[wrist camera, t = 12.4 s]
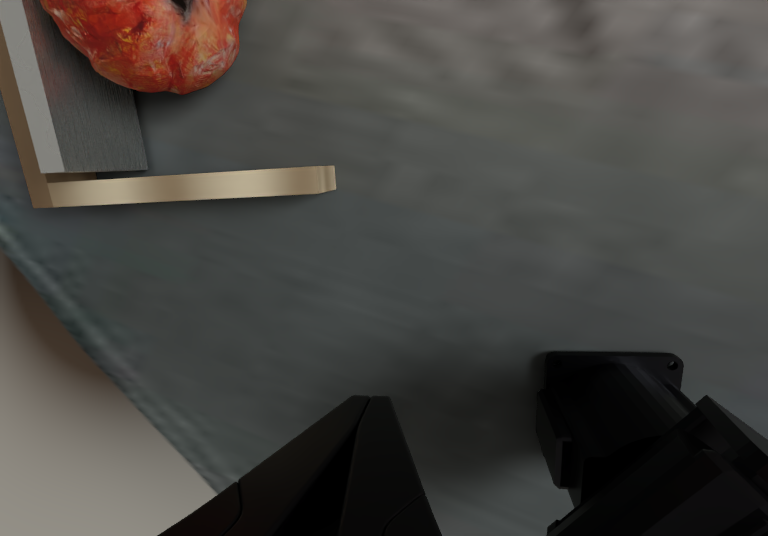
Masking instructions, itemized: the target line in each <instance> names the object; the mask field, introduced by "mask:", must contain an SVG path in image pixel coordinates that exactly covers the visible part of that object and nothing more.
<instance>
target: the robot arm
mask: <svg viewBox="0 0 768 536" xmlns="http://www.w3.org/2000/svg"><path fill="white" fill-rule="evenodd" d="M557 359H558V360H560V362H559V363H558V364H556V365H554V364H552V362H553V361H554V360H557ZM672 361H674V363H673V365H671V366H669V367H667V365H668V363H669V362H672ZM683 367H684V365H683V362H682V360H681V359H680V358H679V357H678V356H676V355H674V354H671V353H615V352H551V353H550V354H548V355H547V356H546V359H545V376H544V389H541V390H540V391H539V392H538V393H537V415H536V433H537V436H538V439H539V442H540V445H541V449H542V453H543V456H544V457H545V459H546V462H547V465H548V468H549V471H550V474H551V477H552V480H553V483H554V484H555V485H556V486H557V487H558V488H559V489H568V492H569V495H570V497H571V500H572V503H573V505H574V509H573V510H572V511H571V512H570V513H568V514H567V515H566V516H565V517H564V518H562V519H561V520H560V521H559V520H556V521H554V522H553V523H552V524H551V525H550V526H548V528H547V535H546V536H768V440H767V439H766V438H764V437H763V436H762V435H760V434H759V433H757V432H756V431H755V430H753V429H752V428H751V427H749V426H748V425H747V424H745V423H744V422H743V421H741V420H740V419H739V418H737V417H736V416H735V415H733V414H732V413H730V412H729V411H728V410H726V409H725V408H724V407H722V406H721V405H720V404H718V403H717V402H716V401H714V400H713V399H712V398H710V397H709V396H707V395H706V396H704V397H703V398H702V399H701V400H700V401H698V402H697V403H696V404H694V403H692V402H691V401H690V400H689V399H688V398H687V397H686V396H685V395H684V394H683V393H682V392H681V391H680V388H681V381H682V374H683ZM158 536H442V534H441V532H440V530H439V527H438V525H437V522H436V520H435V518H434V515H433V513H432V510H431V508H430V505H429V502H428V499H427V497H426V496H425V492H424V489H423V486H422V484H421V481H420V478H419V475H418V473H417V470H416V467H415V464H414V462H413V459H412V456H411V454H410V451H409V448H408V445H407V443H406V440H405V437H404V434H403V432H402V429H401V426H400V423H399V421H398V418H397V415H396V413H395V410H394V407H393V404H392V402H391V399H390V397H388V396H372V397H371V398H370V397H369V396H360V395H354V396H351V397H350V398H348V399H347V400H346V401H344V402H343V403H342V404H340V405H339V406H338V407H336V408H335V409H334V410H332V411H331V412H329V413H328V414H327V415H325V416H324V417H323V418H321V419H320V420H319V421H317V422H316V423H315V424H313V425H312V426H311V427H309V428H308V429H306V430H305V431H304V432H302V433H301V434H300V435H298V436H297V437H296V438H294V439H293V440H292V441H290V442H289V443H288V444H286V445H285V446H283V447H282V448H281V449H279V450H278V451H277V452H275V453H274V454H273V455H271V456H270V457H269V458H267V459H266V460H264V461H263V462H262V463H260V464H259V465H258V466H256V467H255V468H254V469H252V470H251V471H250V472H248V473H247V474H246V475H244V476H243V477H241V478H240V479H239V480H238V483H237V482H235V483H233V484H232V485H230V486H229V487H228V488H226V489H225V490H224V491H222V492H221V493H220V494H218V495H217V496H215V497H214V498H213V499H211V500H210V501H209V502H207V503H206V504H204V505H203V506H201V507H200V508H198V509H197V510H196V511H194V512H193V513H192V514H190V515H188V516H187V517H185V518H184V519H182V520H181V521H179V522H178V523H176V524H174V525H173V526H171V527H170V528H168V529H167V530H165V531H164V532H162V533H161V534H159V535H158Z"/></svg>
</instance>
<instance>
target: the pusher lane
mask: <svg viewBox="0 0 768 536" xmlns="http://www.w3.org/2000/svg"><path fill="white" fill-rule="evenodd" d="M0 89H1V93H2V96H3V100H4V104H5V107H6V111H7V115H8V118H9V122H10V125H11V129H12V133H13V136H14V140H15V143H16V147H17V151H18V154H19V158H20V161H21V165H22V169H23V172H24V176H25V179H26V183H27V187H28V190H29V194H30V197H31V201H32V205H33V208H49V207H69V206H88V205H107V204H127V203H146V202H166V201H185V200H204V199H224V198H243V197H262V196H282V195H301V194H319V193H323V192H327V191H331V190H335V189H336V181H335V169H334V166H312V167H296V168H280V169H264V170H248V171H232V172H216V173H201V174H185V175H169V176H153V177H137V178H121V179H105V180H97V177H96V172H74V173H41V171H40V168H39V164H38V160H37V156H36V153H35V149H34V145H33V141H32V138H31V134H30V130H29V126H28V123H27V119H26V115H25V111H24V108H23V104H22V100H21V96H20V93H19V89H18V85H17V81H16V78H15V74H14V70H13V66H12V63H11V59H10V55H9V51H8V48H7V44H6V40H5V36H4V33H3V29H2V25H1V21H0Z"/></svg>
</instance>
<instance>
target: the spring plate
mask: <svg viewBox="0 0 768 536" xmlns="http://www.w3.org/2000/svg"><path fill="white" fill-rule="evenodd" d="M0 21H1V25H2V29H3V33H4V36H5V40H6V44H7V48H8V51H9V55H10V59H11V63H12V66H13V70H14V74H15V78H16V81H17V85H18V89H19V93H20V96H21V100H22V104H23V108H24V111H25V115H26V119H27V123H28V126H29V130H30V134H31V138H32V141H33V145H34V149H35V153H36V156H37V160H38V164H39V168H40V171H41V173H74V172H111V171H137V170H148V165H147V160H146V155H145V150H144V145H143V140H142V135H141V130H140V125H139V120H138V115H137V110H136V105H135V100H134V95H133V90H132V89H131V88H127V87H124V86H122V85H119V84H116V83H115V82H113V81H111V80H109V79H107V78H105V77H103V76H102V75H100V74H99V73H98V72H96V71H95V70H94V68H93V67H92V66H91V62H90V59H89V58H88V57H87V56H85V55H84V54H83V53H81V52H80V51H79V50H78V49H77V48H76V47H74V46H73V45H72V44H71V43H70V42H69V41H68V40H67V39H66V38H64V36H63V35H62V33H61V31H60V29H59V27H58V25H57V24H56V23H55V21H54V19H53V18H52V16H51V15H50V14H49V13H48V12H47V11H45V10H44V9H43V7H42V5H41V2H40V0H0Z"/></svg>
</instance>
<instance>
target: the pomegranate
mask: <svg viewBox="0 0 768 536" xmlns="http://www.w3.org/2000/svg"><path fill="white" fill-rule="evenodd" d="M40 2H41V5H42V7H43V9H44V10H45V11H47V12H48V13H49V14H50V15H51V16H52V18H53V19H54V21H55V23H56V24H57V25H58V27H59V29H60V31H61V33H62V35H63V36H64V38H66V39H67V40H68V41H69V42H70V43H71V44H72V45H73V46H74V47H76V48H77V49H78V50H79V51H80V52H81V53H83V54H84V55H85V56H87V57H88V58H89V59H90V62H91V66H92V67H93V68H94V70H95V71H96V72H98V73H99V74H100V75H102V76H103V77H105V78H107V79H109V80H111V81H113V82H115V83H116V84H119V85H122V86H124V87H127V88H131V89H133V90H137V91H140V92H142V91H144V92H151V93H154V92H163V91H169V92H173V93H177V94H180V95H184V94H188V93H190V92H193V91H196V90H199V89H202V88H205V87H207V86H209V85H210V84H212V83H213V82H214V81H216V80H217V79H218V78H219V77H221V76H222V75H223V74H224V73H225V72H226V71H227V70H228V69H229V68H230V67H231V65H232V64H233V62H234V61H235V59H236V57H237V55H238V52H239V34H238V28H239V22H240V20H241V18H242V15H243V13H244V10H245V8H246V5H247V0H40Z"/></svg>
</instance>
